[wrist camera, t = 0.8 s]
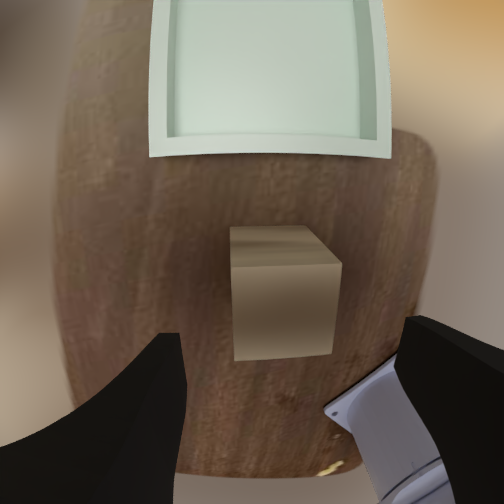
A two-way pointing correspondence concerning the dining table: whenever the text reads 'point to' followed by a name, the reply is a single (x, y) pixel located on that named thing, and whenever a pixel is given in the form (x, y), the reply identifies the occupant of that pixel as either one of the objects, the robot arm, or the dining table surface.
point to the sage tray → (269, 77)
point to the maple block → (282, 292)
